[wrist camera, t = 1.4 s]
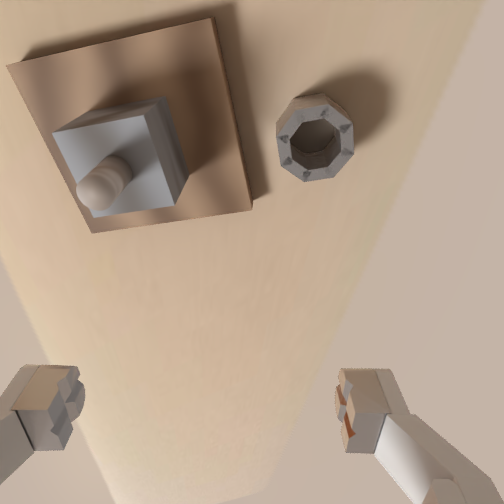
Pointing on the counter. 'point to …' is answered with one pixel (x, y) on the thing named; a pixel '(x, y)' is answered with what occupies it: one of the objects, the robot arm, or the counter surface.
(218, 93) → the post stand
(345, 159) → the collar
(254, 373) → the counter surface
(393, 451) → the robot arm
